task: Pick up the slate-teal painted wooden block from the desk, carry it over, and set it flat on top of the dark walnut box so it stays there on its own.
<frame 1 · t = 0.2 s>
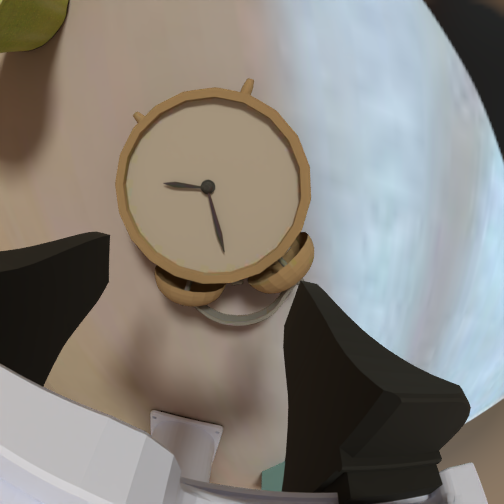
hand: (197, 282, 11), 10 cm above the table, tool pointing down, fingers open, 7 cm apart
teal block: (286, 470, 34), on the table
plant pot: (43, 17, 14), on the table
alarm clock: (224, 204, 21), on the table
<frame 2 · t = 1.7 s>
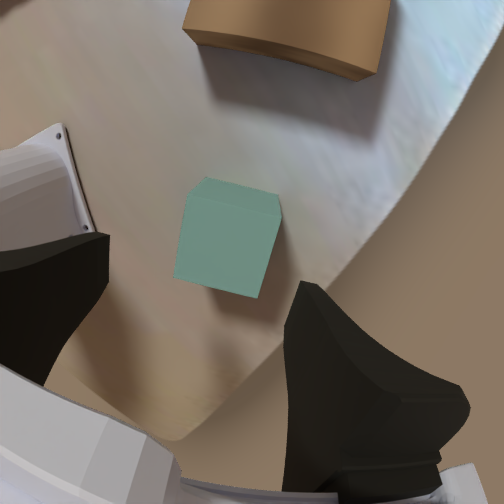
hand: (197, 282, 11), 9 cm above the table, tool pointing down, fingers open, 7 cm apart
teal block: (233, 219, 20), on the table
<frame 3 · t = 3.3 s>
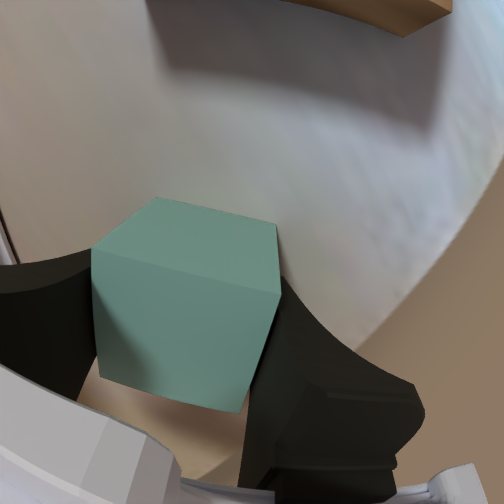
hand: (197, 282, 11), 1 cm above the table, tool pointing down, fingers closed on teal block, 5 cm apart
teal block: (204, 264, 12), on the table, touching gripper
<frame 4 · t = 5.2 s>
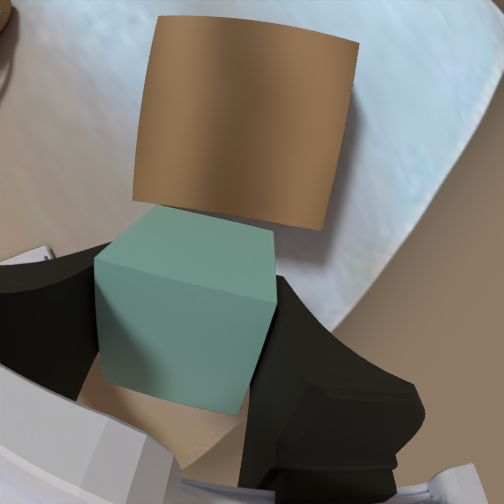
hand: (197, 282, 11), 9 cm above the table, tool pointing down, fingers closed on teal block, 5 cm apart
teal block: (203, 270, 13), point 7 cm above the table, touching gripper
walnut box: (245, 117, 17), on the table
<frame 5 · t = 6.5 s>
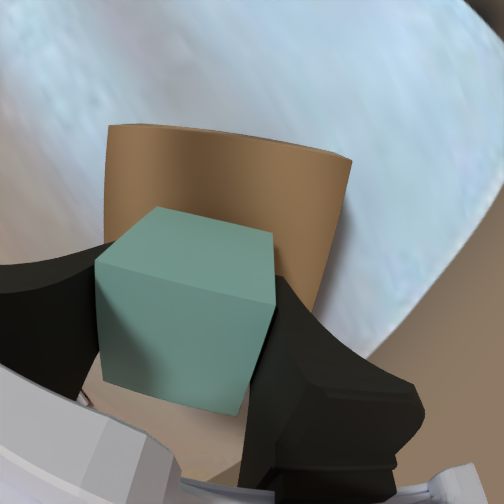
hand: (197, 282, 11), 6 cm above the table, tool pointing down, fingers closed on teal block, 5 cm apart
teal block: (203, 271, 13), point 4 cm above the table, touching gripper
walnut box: (221, 225, 17), on the table
when the fingers open (6 cm above the table, at t = 7.4 s): teal block stays where it is, resting on walnut box.
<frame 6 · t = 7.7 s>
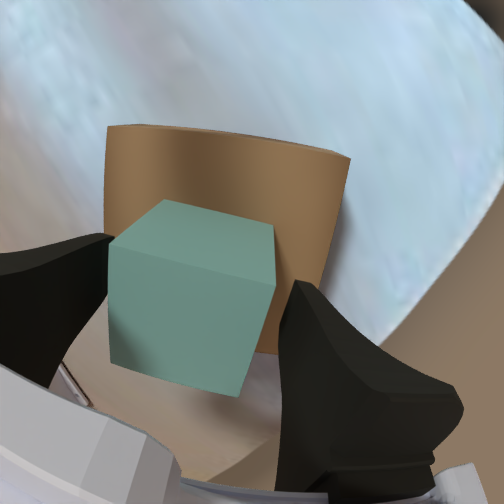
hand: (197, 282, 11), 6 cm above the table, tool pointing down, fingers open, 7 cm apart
teal block: (207, 261, 13), point 4 cm above the table, touching walnut box
walnut box: (221, 224, 17), on the table, touching teal block
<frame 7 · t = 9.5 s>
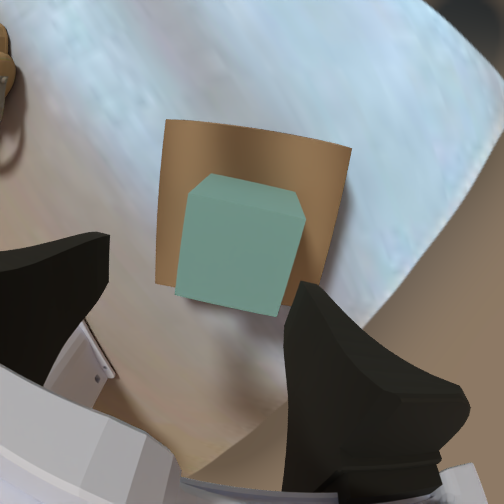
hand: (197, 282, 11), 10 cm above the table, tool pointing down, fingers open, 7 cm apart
teal block: (244, 222, 17), point 4 cm above the table, touching walnut box
walnut box: (248, 202, 21), on the table, touching teal block
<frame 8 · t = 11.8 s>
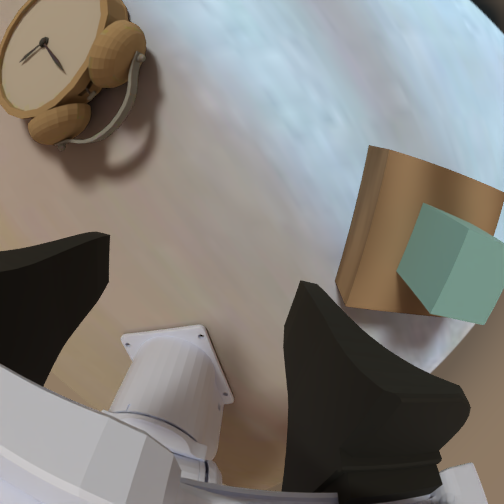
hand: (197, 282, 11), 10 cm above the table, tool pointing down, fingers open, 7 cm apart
teal block: (437, 247, 17), point 4 cm above the table
alarm clock: (79, 62, 17), on the table
walnut box: (411, 227, 21), on the table
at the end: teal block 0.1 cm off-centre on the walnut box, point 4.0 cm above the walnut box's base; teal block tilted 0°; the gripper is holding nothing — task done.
